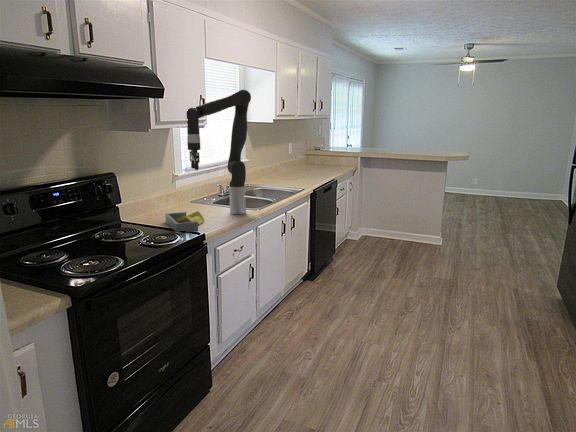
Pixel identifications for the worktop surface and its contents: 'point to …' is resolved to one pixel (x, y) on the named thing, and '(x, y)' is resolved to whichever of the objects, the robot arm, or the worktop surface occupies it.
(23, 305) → the worktop surface
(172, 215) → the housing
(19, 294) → the worktop surface
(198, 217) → the plastic component
